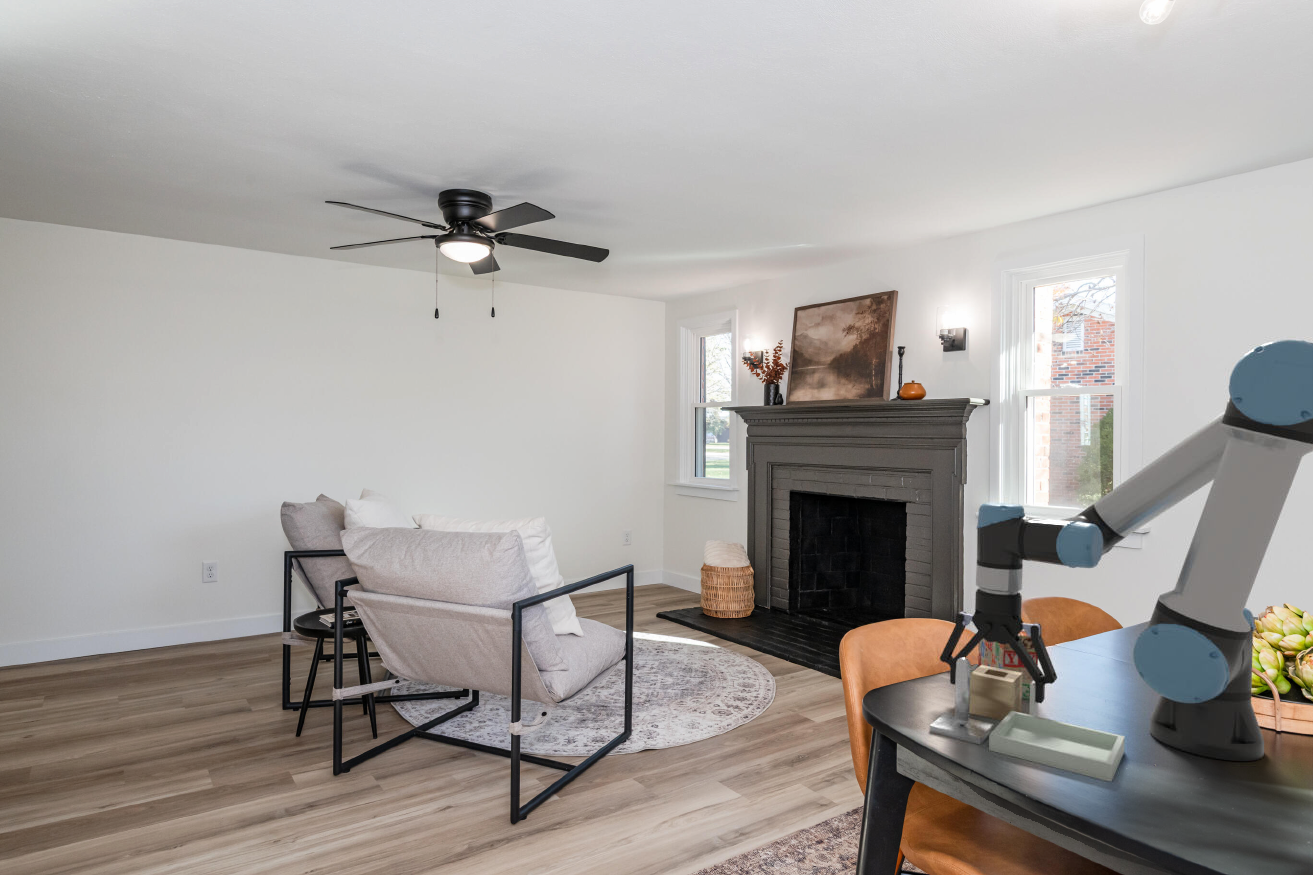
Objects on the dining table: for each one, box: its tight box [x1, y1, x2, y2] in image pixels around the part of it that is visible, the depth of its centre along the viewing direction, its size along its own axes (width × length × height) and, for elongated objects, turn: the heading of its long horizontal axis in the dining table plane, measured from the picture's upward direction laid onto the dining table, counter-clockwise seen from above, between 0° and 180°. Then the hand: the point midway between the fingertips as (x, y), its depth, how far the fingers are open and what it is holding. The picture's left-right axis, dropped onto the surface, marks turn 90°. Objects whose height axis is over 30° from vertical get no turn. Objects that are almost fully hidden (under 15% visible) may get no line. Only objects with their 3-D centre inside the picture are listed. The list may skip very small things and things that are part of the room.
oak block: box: [969, 665, 1023, 722], centre depth 136 cm, size 7×7×7 cm
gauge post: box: [929, 657, 995, 745], centre depth 127 cm, size 8×8×12 cm
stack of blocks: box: [977, 630, 1039, 701], centre depth 154 cm, size 21×6×12 cm, turn 169°
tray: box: [988, 711, 1126, 783], centre depth 120 cm, size 17×14×2 cm
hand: (995, 711), depth 136 cm, fingers open, 12 cm apart
